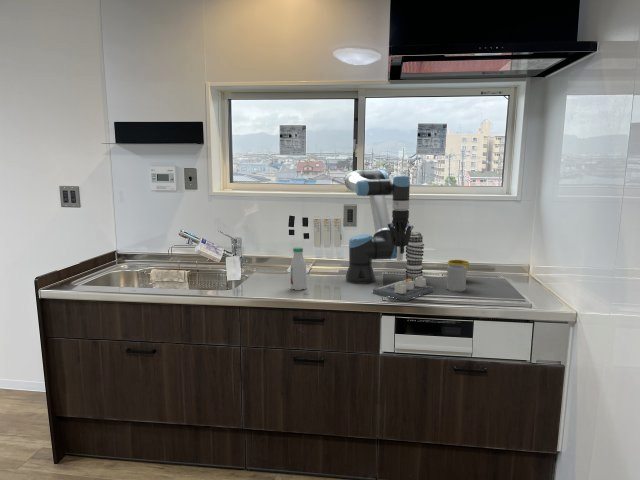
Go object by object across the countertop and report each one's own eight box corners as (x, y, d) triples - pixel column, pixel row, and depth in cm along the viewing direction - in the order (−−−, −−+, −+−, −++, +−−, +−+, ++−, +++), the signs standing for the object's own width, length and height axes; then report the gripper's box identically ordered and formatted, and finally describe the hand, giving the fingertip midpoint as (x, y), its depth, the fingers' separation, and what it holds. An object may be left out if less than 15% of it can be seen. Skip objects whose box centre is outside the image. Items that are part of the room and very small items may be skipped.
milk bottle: (309, 287, 217) (308, 247, 214) (302, 291, 210) (301, 249, 207) (295, 286, 220) (294, 246, 217) (288, 289, 213) (287, 248, 211)
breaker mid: (402, 288, 204) (402, 279, 203) (406, 287, 206) (406, 278, 205) (410, 289, 201) (410, 280, 201) (413, 288, 203) (413, 279, 203)
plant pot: (466, 283, 220) (466, 264, 219) (445, 281, 225) (445, 262, 224) (470, 279, 229) (471, 260, 228) (450, 277, 234) (450, 258, 233)
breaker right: (414, 285, 209) (415, 276, 208) (418, 284, 211) (418, 275, 210) (422, 287, 206) (422, 278, 205) (425, 285, 208) (426, 276, 207)
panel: (373, 293, 205) (373, 288, 204) (400, 284, 220) (401, 280, 219) (405, 301, 192) (405, 295, 192) (433, 291, 207) (433, 286, 207)
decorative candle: (423, 283, 221) (424, 234, 217) (404, 283, 222) (405, 233, 219) (423, 279, 230) (424, 231, 226) (404, 279, 231) (405, 231, 228)
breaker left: (394, 292, 198) (394, 282, 197) (398, 291, 200) (398, 281, 199) (402, 293, 195) (402, 284, 194) (406, 292, 197) (406, 283, 196)
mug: (466, 291, 205) (467, 268, 204) (447, 291, 207) (448, 268, 205) (463, 285, 217) (464, 263, 215) (445, 284, 219) (446, 262, 217)
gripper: (384, 209, 205) (383, 259, 209) (407, 211, 196) (406, 263, 200) (394, 208, 211) (393, 256, 215) (417, 209, 201) (416, 260, 205)
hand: (399, 260), depth 207 cm, fingers closed
